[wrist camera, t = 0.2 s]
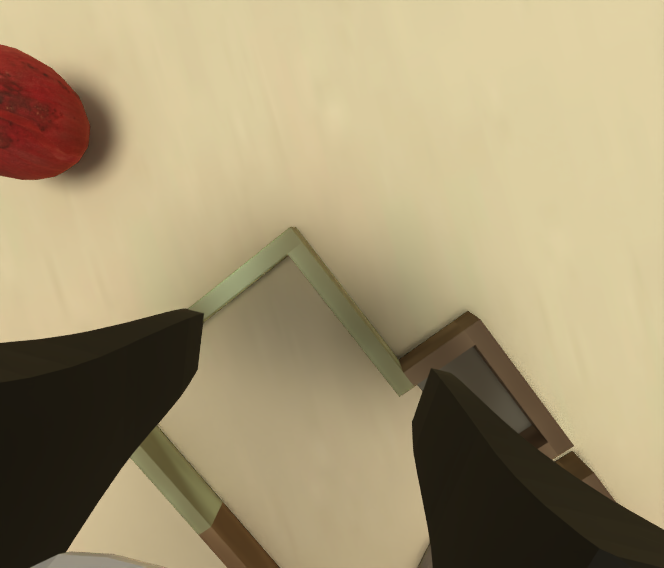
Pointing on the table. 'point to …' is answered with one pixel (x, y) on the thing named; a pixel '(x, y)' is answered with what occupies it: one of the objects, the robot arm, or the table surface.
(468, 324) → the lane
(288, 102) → the table surface
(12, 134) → the onion
